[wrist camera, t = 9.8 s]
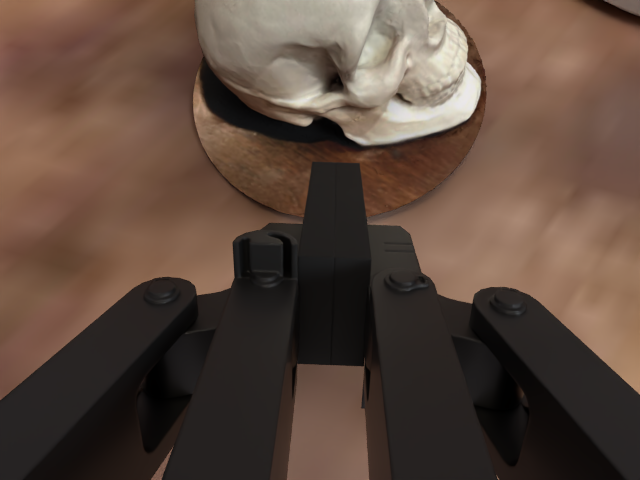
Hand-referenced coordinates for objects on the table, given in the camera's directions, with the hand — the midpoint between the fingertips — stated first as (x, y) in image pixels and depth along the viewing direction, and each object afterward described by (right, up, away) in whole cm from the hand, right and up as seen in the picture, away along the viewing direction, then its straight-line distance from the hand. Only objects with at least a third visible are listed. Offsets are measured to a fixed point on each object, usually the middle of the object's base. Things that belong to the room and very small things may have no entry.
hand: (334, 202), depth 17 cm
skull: (0, +5, +5) cm, 7 cm away
